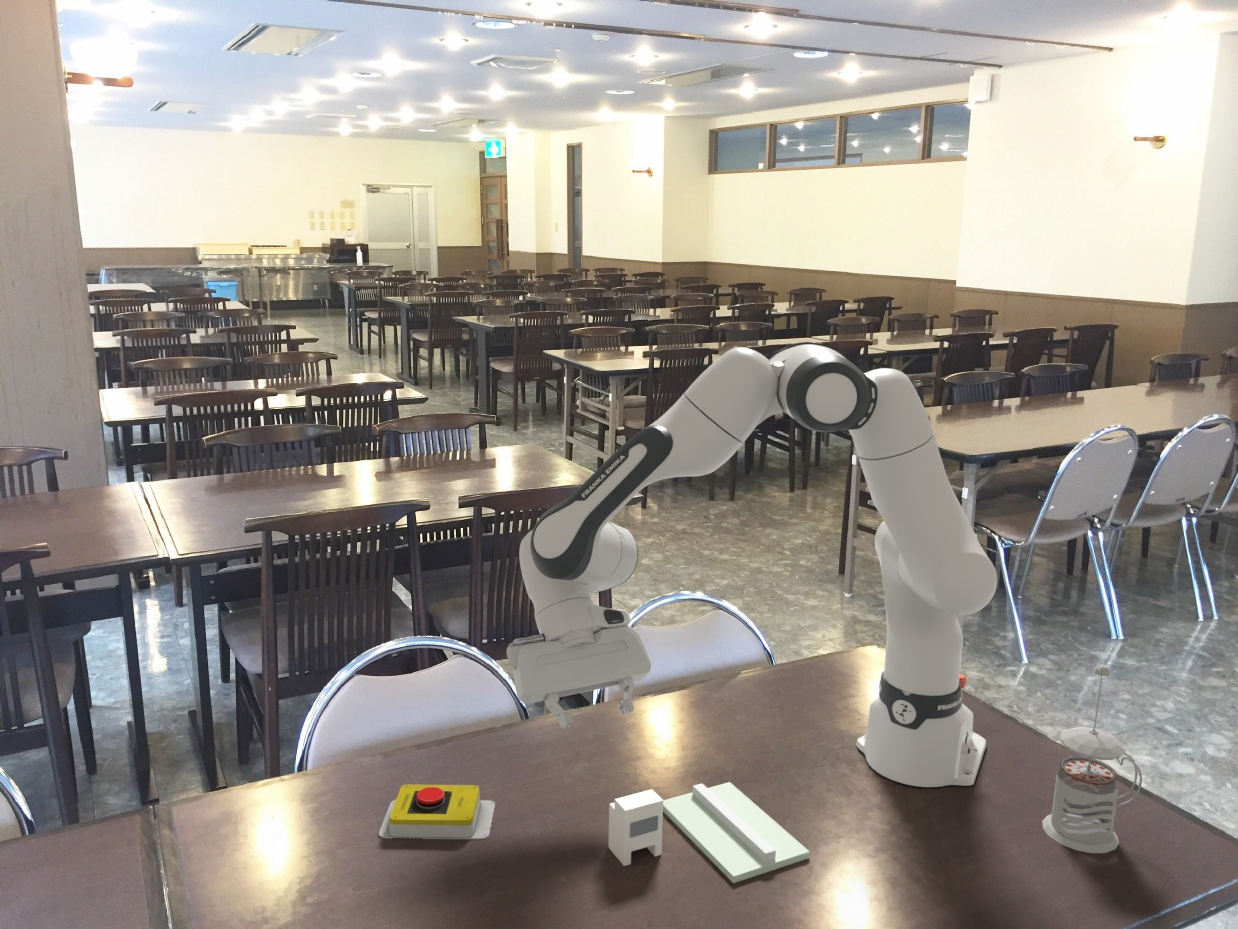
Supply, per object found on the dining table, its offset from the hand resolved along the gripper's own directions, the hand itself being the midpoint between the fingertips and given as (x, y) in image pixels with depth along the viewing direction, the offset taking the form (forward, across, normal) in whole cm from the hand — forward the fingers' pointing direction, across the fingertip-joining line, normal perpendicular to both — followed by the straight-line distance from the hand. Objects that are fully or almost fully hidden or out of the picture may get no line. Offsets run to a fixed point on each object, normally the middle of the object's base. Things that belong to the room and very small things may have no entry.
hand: (598, 719), depth 138 cm
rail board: (+19, +14, 0) cm, 24 cm away
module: (+18, 0, +2) cm, 18 cm away
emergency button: (+5, -21, +15) cm, 27 cm away
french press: (+35, +59, -15) cm, 70 cm away
